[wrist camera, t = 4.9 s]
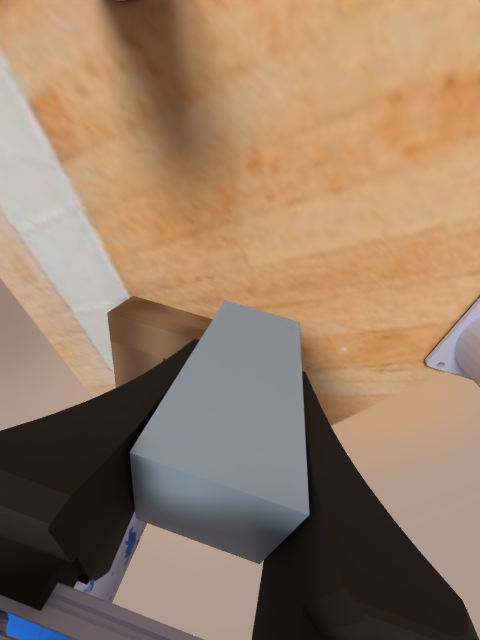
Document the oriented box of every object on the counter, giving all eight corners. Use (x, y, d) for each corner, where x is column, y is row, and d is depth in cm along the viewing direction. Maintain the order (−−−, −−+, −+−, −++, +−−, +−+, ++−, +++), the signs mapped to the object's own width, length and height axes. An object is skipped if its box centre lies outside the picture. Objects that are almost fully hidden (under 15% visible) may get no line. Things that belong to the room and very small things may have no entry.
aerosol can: (171, 397, 28) (-20, 721, 11) (199, 437, 31) (84, 737, 14) (125, 403, 30) (-86, 670, 13) (155, 439, 34) (14, 693, 17)
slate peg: (299, 322, 11) (309, 514, 5) (276, 376, 13) (259, 564, 7) (224, 300, 12) (129, 452, 5) (213, 357, 14) (135, 518, 7)
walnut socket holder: (295, 344, 20) (296, 370, 17) (261, 422, 27) (257, 450, 24) (133, 296, 21) (107, 312, 18) (137, 381, 28) (118, 404, 25)
